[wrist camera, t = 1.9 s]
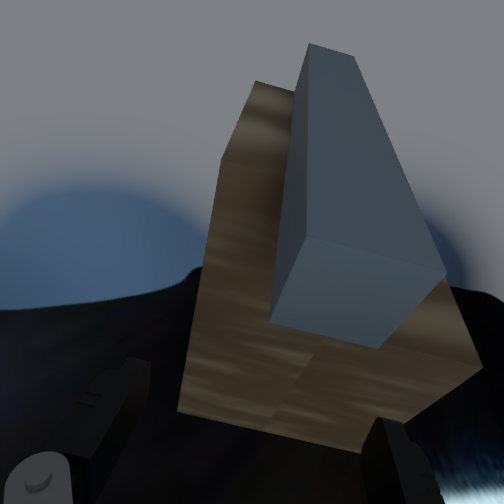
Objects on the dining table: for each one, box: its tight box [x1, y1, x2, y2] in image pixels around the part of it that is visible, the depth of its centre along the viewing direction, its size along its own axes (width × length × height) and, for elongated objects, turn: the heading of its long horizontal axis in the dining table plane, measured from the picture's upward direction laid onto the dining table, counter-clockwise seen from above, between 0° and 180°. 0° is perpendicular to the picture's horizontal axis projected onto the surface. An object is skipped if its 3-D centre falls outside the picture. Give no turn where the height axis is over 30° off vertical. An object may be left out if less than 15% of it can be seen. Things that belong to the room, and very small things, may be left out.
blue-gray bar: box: [269, 43, 447, 349], centre depth 18 cm, size 23×4×4 cm, turn 172°
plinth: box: [177, 81, 483, 454], centre depth 33 cm, size 14×22×32 cm, turn 82°
